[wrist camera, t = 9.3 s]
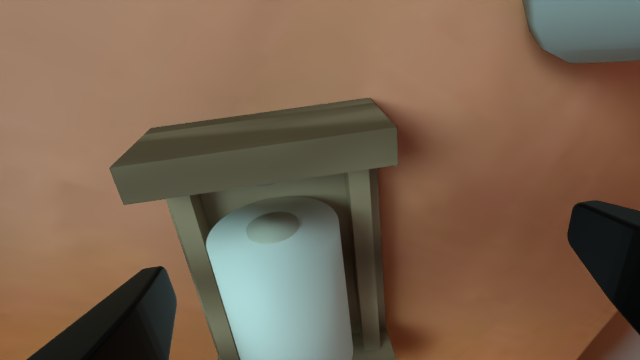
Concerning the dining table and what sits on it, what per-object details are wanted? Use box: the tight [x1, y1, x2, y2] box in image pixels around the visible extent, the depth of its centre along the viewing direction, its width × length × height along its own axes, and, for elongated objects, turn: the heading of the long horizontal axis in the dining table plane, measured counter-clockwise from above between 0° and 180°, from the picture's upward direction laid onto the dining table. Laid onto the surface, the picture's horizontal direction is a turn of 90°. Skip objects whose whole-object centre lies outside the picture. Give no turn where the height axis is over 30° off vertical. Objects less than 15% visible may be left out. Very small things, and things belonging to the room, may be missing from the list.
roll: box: [206, 196, 353, 360], centre depth 19 cm, size 8×6×6 cm
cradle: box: [109, 98, 398, 360], centre depth 20 cm, size 17×11×5 cm, turn 6°
